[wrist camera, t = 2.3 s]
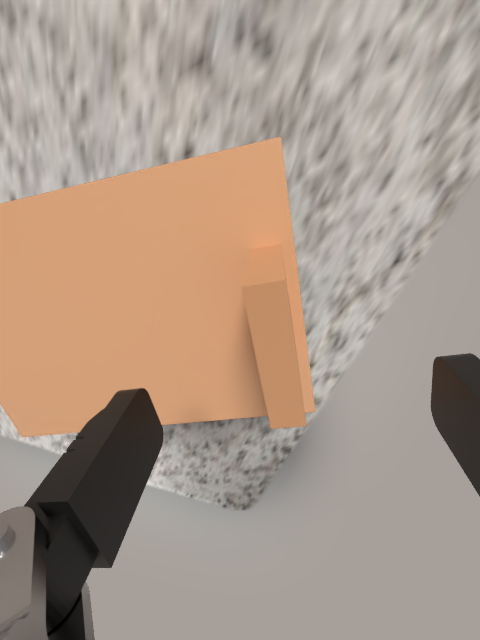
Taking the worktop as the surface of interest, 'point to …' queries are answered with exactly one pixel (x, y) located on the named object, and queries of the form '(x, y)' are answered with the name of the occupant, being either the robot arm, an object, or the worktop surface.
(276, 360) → the lid
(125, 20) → the worktop surface
